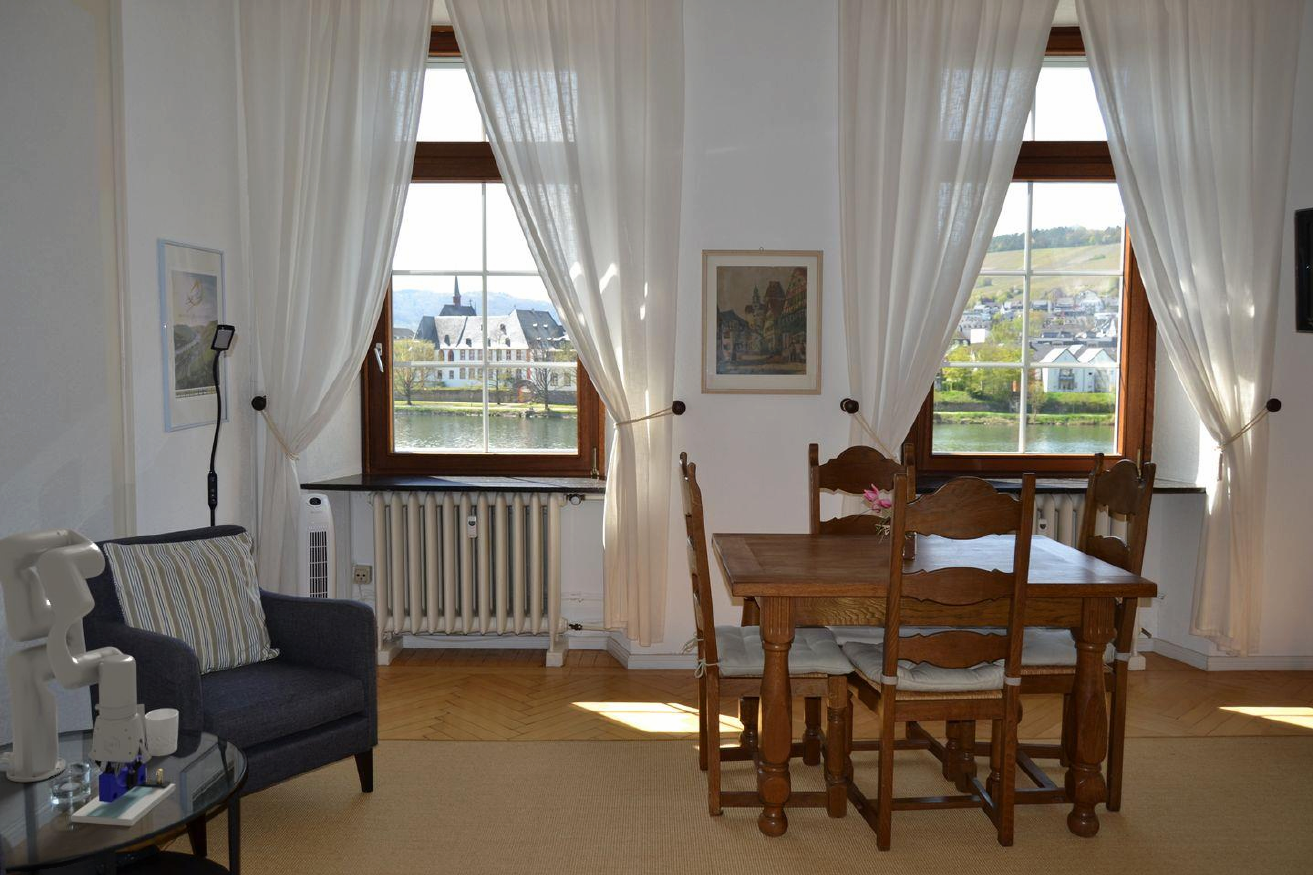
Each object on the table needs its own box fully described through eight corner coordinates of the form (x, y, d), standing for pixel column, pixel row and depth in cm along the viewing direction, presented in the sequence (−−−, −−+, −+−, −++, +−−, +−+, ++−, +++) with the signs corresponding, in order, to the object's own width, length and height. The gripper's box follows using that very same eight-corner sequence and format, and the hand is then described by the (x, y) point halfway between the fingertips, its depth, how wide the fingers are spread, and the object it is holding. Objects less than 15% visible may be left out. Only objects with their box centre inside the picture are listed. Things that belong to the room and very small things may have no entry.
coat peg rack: (117, 784, 246) (116, 768, 246) (122, 781, 248) (121, 765, 248) (165, 788, 245) (165, 771, 245) (170, 784, 247) (169, 768, 247)
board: (71, 821, 231) (71, 814, 231) (119, 786, 249) (119, 779, 249) (131, 825, 230) (131, 818, 230) (175, 789, 248) (175, 782, 248)
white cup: (162, 759, 264) (162, 721, 263) (138, 754, 267) (137, 717, 266) (186, 747, 272) (185, 711, 271) (162, 743, 274) (161, 706, 273)
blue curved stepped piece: (128, 777, 244) (128, 753, 243) (146, 779, 243) (145, 755, 242) (93, 800, 232) (92, 774, 231) (111, 802, 231) (110, 776, 231)
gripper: (72, 714, 232) (74, 791, 234) (144, 718, 231) (146, 796, 233) (93, 702, 240) (95, 777, 242) (163, 706, 239) (165, 782, 241)
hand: (120, 786), depth 237 cm, fingers closed on blue curved stepped piece, 4 cm apart
